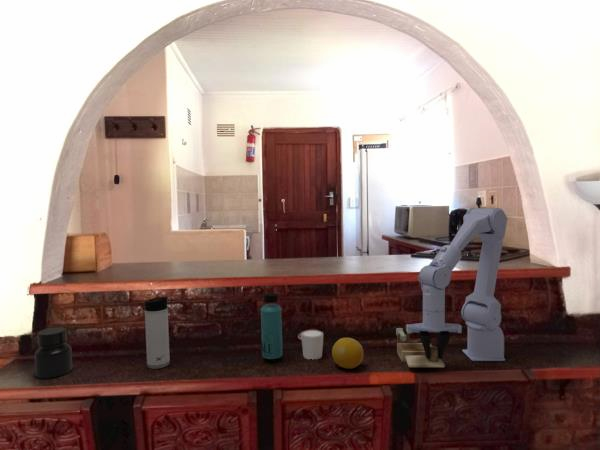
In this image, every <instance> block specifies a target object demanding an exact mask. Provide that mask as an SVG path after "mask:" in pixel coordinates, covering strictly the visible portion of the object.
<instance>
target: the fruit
mask: <svg viewBox="0 0 600 450" xmlns="http://www.w3.org/2000/svg"><path fill="white" fill-rule="evenodd" d="M364 355H365V354H364V348H363V346H362V344H361V343H360V342H359V341H358V340H356V339H354V338H351V337H342V338H339V339H338V340H337V341H336V342H335V343H334V345H333V346H332V349H331V356H332V358H333V359H332V360H333V361H334V362H335V364H336V365H338V366H339V367H340V368H343V369H348V370H351V369H355V368H357V367H358V366H360V365H361V363H362V362H363V360H364Z"/></svg>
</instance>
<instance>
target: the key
mask: <svg viewBox="0 0 600 450" xmlns="http://www.w3.org/2000/svg"><path fill="white" fill-rule="evenodd" d="M395 332H396V333H395V334H396V336H397V333H400V341H402V342H403V341H405V342H406V334H405V332H404V328H403V327H400V328H399V327H397V328H395Z"/></svg>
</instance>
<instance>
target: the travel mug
mask: <svg viewBox="0 0 600 450" xmlns="http://www.w3.org/2000/svg"><path fill="white" fill-rule="evenodd" d="M168 300H169V298H168V296H159V297H154V298H153V297H152V298H149V299H148V300H145V301H144V323H145V326H144V328H145V346H146V349H145V350H146V366H147V368H148V369H152V370H157V369H162V368H165V367H167V366H168V365H170V362H171V360H170V359H171V358H170V357H171V356H170V334H169V310H168V308H169V307H168Z"/></svg>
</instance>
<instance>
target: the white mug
mask: <svg viewBox="0 0 600 450" xmlns="http://www.w3.org/2000/svg"><path fill="white" fill-rule="evenodd" d="M324 335H325V334H324V332H323V331H320V330H315V329H309V330H305V331H302V332H301V333H300V338H301V345H302V355H303V358H304V359H306V360H310V359H312V360H313V361H315V360H319V359H322V357H323V348H324V347H323V346H324ZM314 359H315V360H314Z"/></svg>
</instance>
